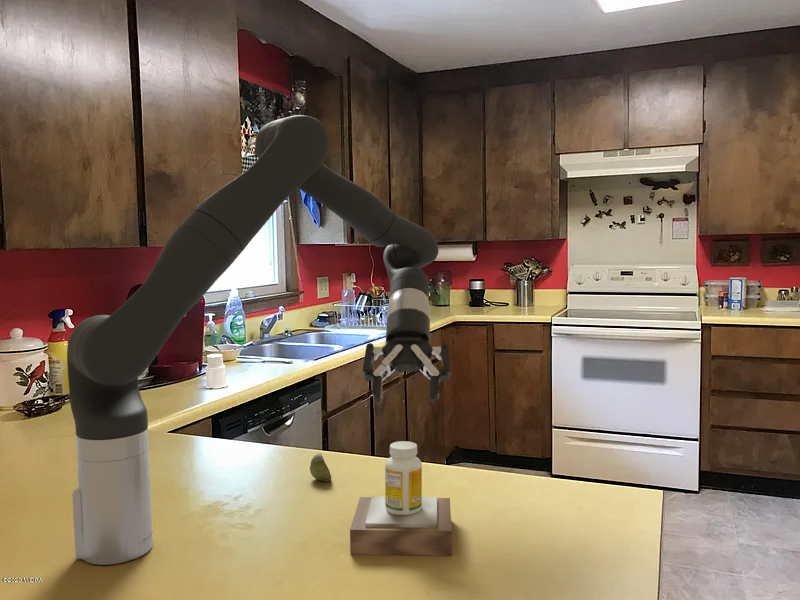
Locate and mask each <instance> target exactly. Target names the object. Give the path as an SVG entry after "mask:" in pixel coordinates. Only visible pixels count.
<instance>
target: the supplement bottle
mask: <svg viewBox="0 0 800 600" xmlns="http://www.w3.org/2000/svg"><path fill="white" fill-rule="evenodd" d="M417 454H418V445H417V443H415V442H412V441H408V440H407V441H405V440H404V441H403V440H400V441H399V440H398V441H395V442H392V443H391V444H390V445H389V455H390V457H388V458H387V459H386V460H385V464H384V465H385V466H384V482H385V483H384V489H385V490H384V491H385V494H384V497H385V507H386V510H387V511H388V512H389V513H391V514H394V515H412V514H414V513H417V512H419V511H420V510H421V507H422V497H423V496H422V495H423V493H422V491H423V489H422V488H423V487H422V486H423V485H422V484H423V483H422V482H423V479H422V477H423V473H422V472H423V468H422V467H423V465H422V461H421V459H420V458H419V457H417Z"/></svg>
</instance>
